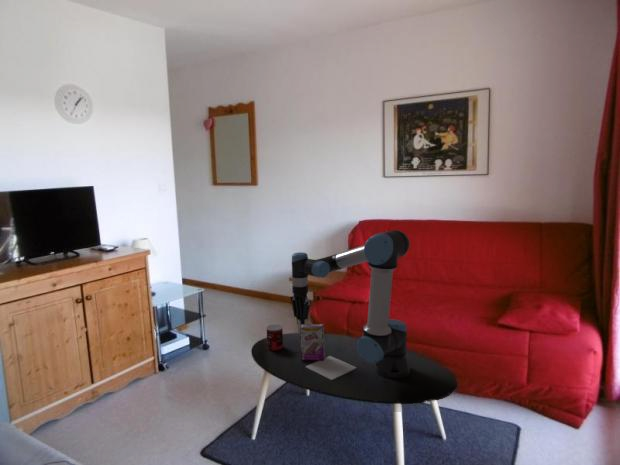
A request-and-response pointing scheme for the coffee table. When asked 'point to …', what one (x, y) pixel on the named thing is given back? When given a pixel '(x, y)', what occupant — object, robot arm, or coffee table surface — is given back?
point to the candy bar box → (312, 342)
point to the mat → (331, 367)
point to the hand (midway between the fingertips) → (301, 331)
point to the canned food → (274, 337)
